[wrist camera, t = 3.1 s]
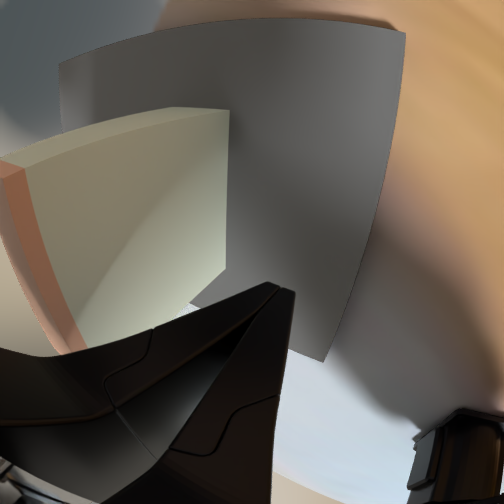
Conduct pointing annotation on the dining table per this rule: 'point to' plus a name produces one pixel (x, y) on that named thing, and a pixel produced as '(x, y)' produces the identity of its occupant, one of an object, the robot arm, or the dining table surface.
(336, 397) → the dining table surface
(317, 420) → the dining table surface
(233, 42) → the mat
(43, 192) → the slab
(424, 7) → the dining table surface
